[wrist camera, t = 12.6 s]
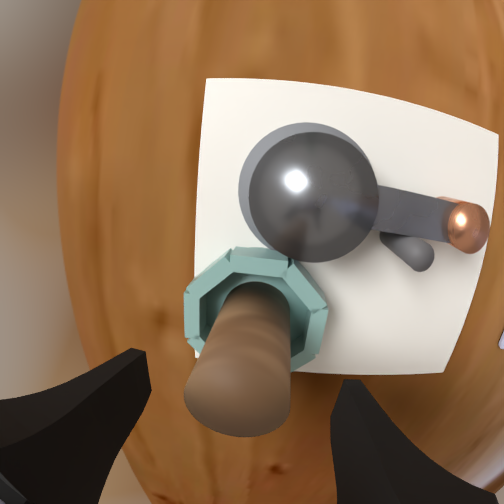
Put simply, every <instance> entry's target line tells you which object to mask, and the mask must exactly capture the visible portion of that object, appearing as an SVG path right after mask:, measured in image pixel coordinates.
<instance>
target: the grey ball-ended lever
mask: <svg viewBox="0 0 504 504" xmlns="http://www.w3.org/2000/svg"><path fill="white" fill-rule="evenodd" d="M249 208H250V212H251V216H252V219H253V221H254V224H255V226H256V228H257V230H258V231H259V233H260V234H261V236H262V237H263V238H264V239H265V241H266V242H267V243H268V244H269V245H270V246H272V247H273V248H274V249H275V250H276V251H278V252H280V253H281V254H283V255H285V256H287V257H289V258H292V259H295V260H298V261H302V262H310V263H319V262H327V261H331V260H335V259H338V258H340V257H342V256H344V255H346V254H348V253H349V252H351V251H352V250H354V249H355V248H356V247H357V246H358V245H360V243H361V242H362V241H363V240H364V239H365V238H366V236H367V235H368V234H369V232H370V230H377V231H383V232H389V233H395V234H401V235H407V236H412V237H418V238H423V239H429V240H434V241H439V242H445V243H447V244H449V245H451V246H453V247H455V248H457V249H458V250H460V251H462V252H464V253H466V254H474V253H476V252H478V251H479V250H480V249H482V247H483V246H484V245H485V243H486V241H487V239H488V236H489V231H490V221H489V217H488V214H487V212H486V211H485V209H484V208H483V207H482V206H480V205H478V204H474V203H470V202H466V201H462V200H458V199H454V198H450V197H445V196H439V197H436V198H435V197H431V196H427V195H422V194H418V193H414V192H409V191H405V190H400V189H396V188H391V187H386V186H381V185H378V184H377V180H376V177H375V174H374V172H373V170H372V167H371V166H370V164H369V162H368V161H367V159H366V158H365V157H364V156H363V154H362V153H361V152H360V151H359V150H358V149H357V148H356V147H354V146H353V145H352V144H350V143H349V142H347V141H345V140H343V139H342V138H340V137H337V136H334V135H331V134H327V133H322V132H304V133H299V134H295V135H292V136H289V137H287V138H285V139H283V140H281V141H279V142H278V143H276V144H275V145H273V146H272V147H271V148H270V149H269V150H268V151H267V152H266V153H265V154H264V155H263V156H262V158H261V159H260V161H259V162H258V164H257V165H256V168H255V170H254V172H253V174H252V178H251V181H250V186H249Z"/></svg>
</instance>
